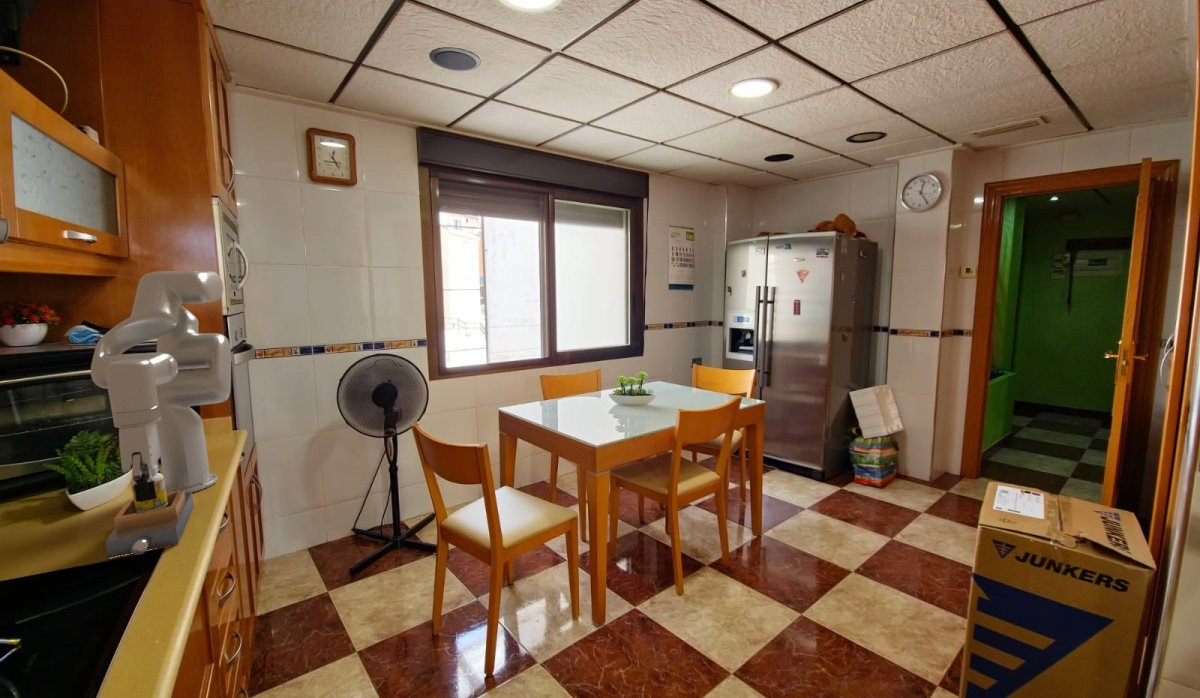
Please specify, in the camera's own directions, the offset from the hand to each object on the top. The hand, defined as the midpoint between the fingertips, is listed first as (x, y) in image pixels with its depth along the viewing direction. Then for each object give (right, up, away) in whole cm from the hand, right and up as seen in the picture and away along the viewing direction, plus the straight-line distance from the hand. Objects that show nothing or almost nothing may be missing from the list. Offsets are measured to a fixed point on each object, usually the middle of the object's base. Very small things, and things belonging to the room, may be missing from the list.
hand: (149, 493), depth 111 cm
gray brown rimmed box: (+1, -9, 0) cm, 9 cm away
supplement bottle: (0, -4, +1) cm, 4 cm away
